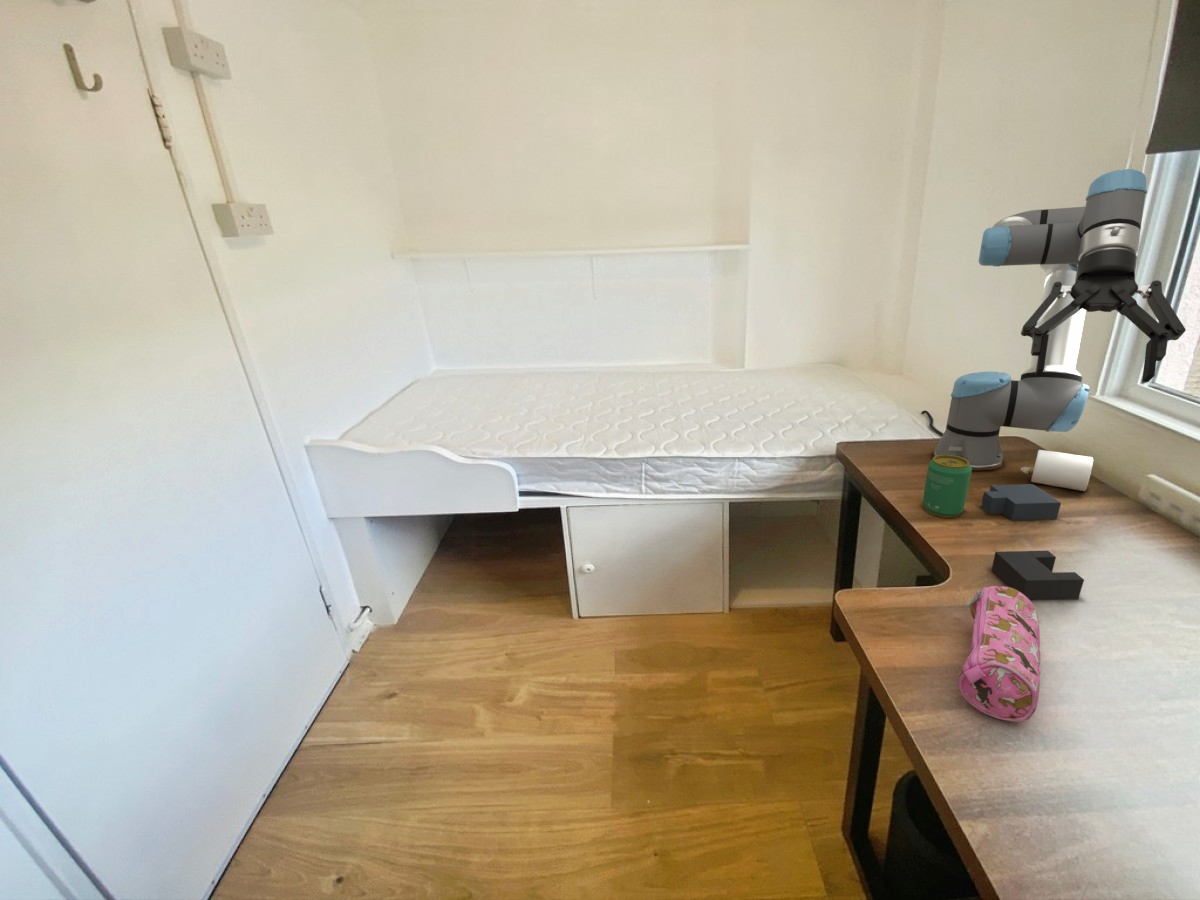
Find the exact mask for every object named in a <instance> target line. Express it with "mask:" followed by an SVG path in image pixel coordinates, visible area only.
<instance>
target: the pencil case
mask: <svg viewBox="0 0 1200 900" xmlns="http://www.w3.org/2000/svg"><path fill="white" fill-rule="evenodd" d="M966 607H967V608H969V607H970V615H971V617H972V619H973V622H972V628H971V629H972V630H971V636H970V637H971V638H970V643H969V649H968V656H967V658H966V659H965V662H964V664H962V666H961V668H960V670H959V673H958V676H957V679H956V681H957V686H958V690H959V692H960V694H961V696H962V697H963V698H964V700H966V702H968V703H969V704H970V705H971V706H972V707H974V708H975V709H977V710H978V711H980V712H981V713H984V715H985V714H986V715H987V716H989V717H992V718H996V719H997V720H1001V721H1002V720H1003V721H1008V722H1014V723H1021V722H1025V721H1029V719H1031V718H1032V716H1033V715H1034V714H1035V712H1036V709H1037V707H1038V702H1039V697H1040V696H1039V695H1040V685H1041V670H1040V667H1041V635H1040V634H1041V633H1040V619H1039V615H1038V611H1037V609H1036V607H1035V605H1034V604H1033V602H1032V600H1029V599H1028V598H1027V597H1026V596H1025V595H1023V594H1022V593H1021V592H1019V591H1018V590H1016V589H1013V588H1010V587H1008V586H995V585H991V586H989V587H988V586H987V587H986V586H985V587H983V588H982V590H979V589H977V590H976V592H975V593H974V594H973V596H972V598H971V599H970V600H969V601H968V602H967V603H966Z"/></svg>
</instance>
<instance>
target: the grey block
mask: <svg viewBox="0 0 1200 900" xmlns="http://www.w3.org/2000/svg"><path fill="white" fill-rule="evenodd" d="M1061 505H1062V502H1061V501H1060V500H1058V499H1057V498H1055V497H1054V496H1052V495H1050V494H1049V493H1047V492H1046V491H1044V490H1043V489H1041V487H1038V486H1037V485H1035V484H1033V483H1028V484H1027V483H1026V484H1025V483H1024V484H997V485H995V484H994V485H990V488H989V491H988V490H987V491H983V495H982V500H981V505H980V508H981V509H982V510H983V511H985V513H987V514H988V515H1005V516H1006V517H1007V518H1008V519H1010V520H1011V521H1033V520H1035V521H1037V520H1040V521H1041V520H1057V519H1058V515H1059V512H1060V508H1061Z"/></svg>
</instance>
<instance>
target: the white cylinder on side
mask: <svg viewBox="0 0 1200 900" xmlns="http://www.w3.org/2000/svg"><path fill="white" fill-rule="evenodd" d="M1093 465H1094V457H1093V456H1086V455H1082V454H1081V455H1079V454H1073V453H1066V452H1059V451H1051V450H1046V449H1037V454H1036V458H1035V463H1034V466H1033V471H1032V475H1031V479H1030V482H1031V483H1035V484H1040V485H1046V486H1050V487H1051V486H1052V487H1057V488H1064V489H1068V490H1074V491H1080V492H1085V491H1087V488H1088V485H1089V481H1090V478H1091V474H1092V470H1093Z"/></svg>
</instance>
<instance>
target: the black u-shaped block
mask: <svg viewBox="0 0 1200 900" xmlns="http://www.w3.org/2000/svg"><path fill="white" fill-rule="evenodd" d="M1056 559H1057V557H1056V556H1055V555H1054V553H1052V552H1050V551H1049V550H1013V551H1010V550H1007V551H1006V550H1005V551H994V557H993V560H992V566H991V572H993V573H994V574H995V575H996V576H997V577H998V578H999V579H1000V580H1001V581H1002V582H1003V583H1004V585H1006V587H1010V588H1013V589H1016V590H1018V591H1019V592H1021V593H1022V594H1023V595H1025V596H1026V597H1027V598H1028V599H1029V600H1030V601H1038V600H1040V601H1042V600H1043V601H1046V600H1047V601H1049V600H1052V601H1053V600H1056V601H1057V600H1079V598H1080V595H1081V593H1082V588H1083V585H1084V582H1085V578H1083V577H1081V576H1080V575H1079V574H1078V573H1077V572H1075V571H1066V572H1065V571H1064V572H1063V571H1062V572H1060V571H1059V572H1057V571H1056V572H1053V570H1054V566H1055V562H1056Z"/></svg>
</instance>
